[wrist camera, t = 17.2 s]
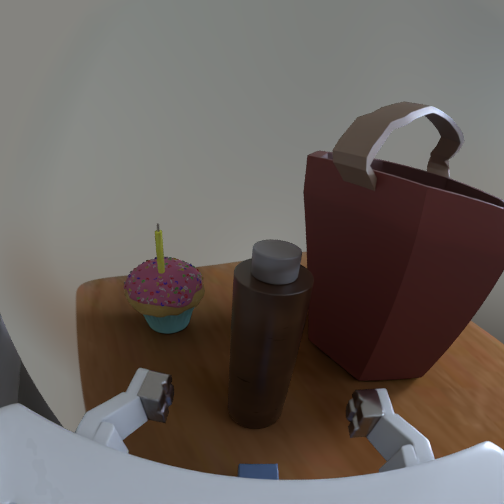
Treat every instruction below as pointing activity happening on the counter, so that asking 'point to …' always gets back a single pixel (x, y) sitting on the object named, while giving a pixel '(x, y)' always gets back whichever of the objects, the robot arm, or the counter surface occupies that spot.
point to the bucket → (395, 249)
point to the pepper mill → (266, 330)
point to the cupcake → (164, 290)
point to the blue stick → (258, 471)
